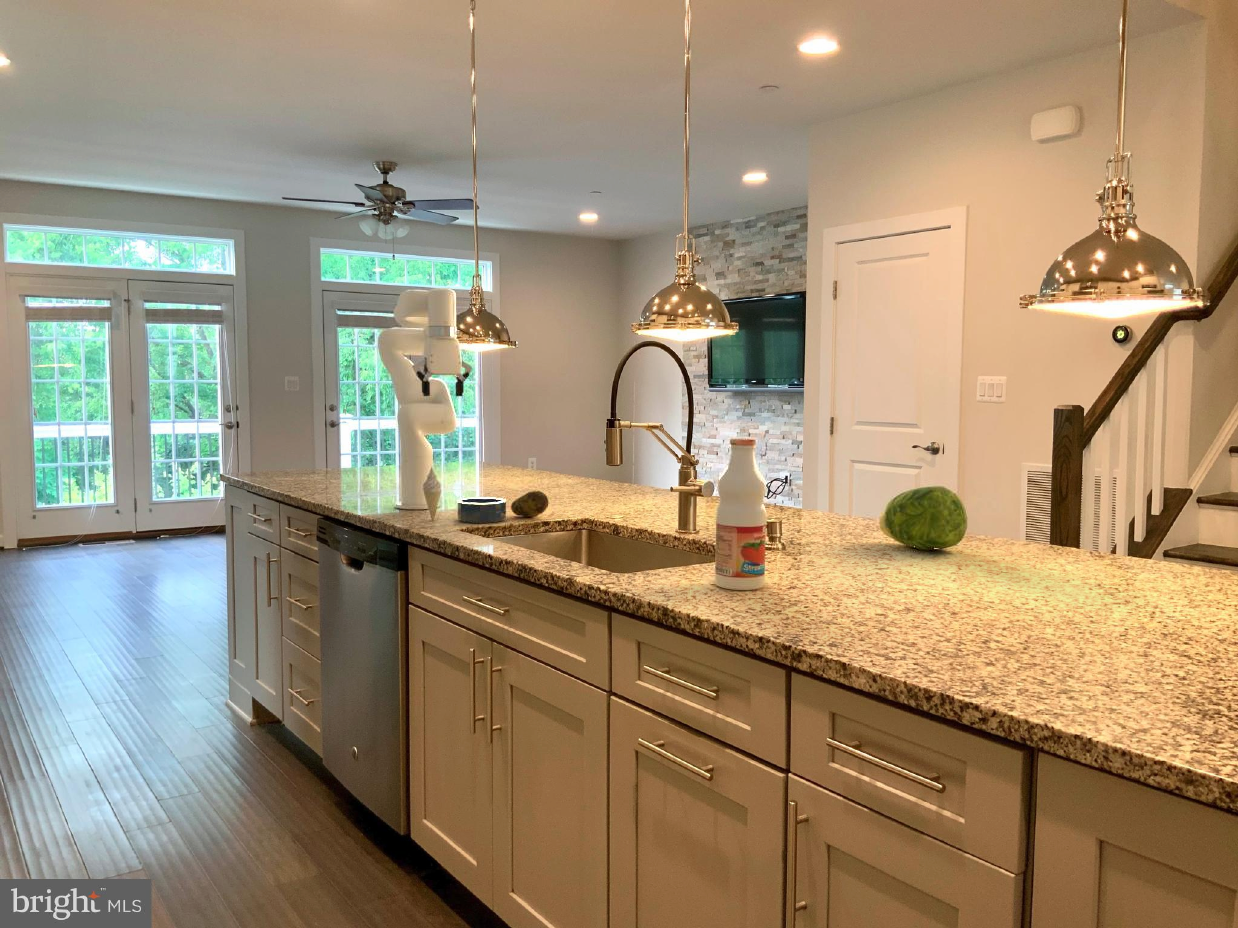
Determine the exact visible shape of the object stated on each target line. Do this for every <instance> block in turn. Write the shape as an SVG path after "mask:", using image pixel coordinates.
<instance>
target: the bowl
mask: <svg viewBox="0 0 1238 928" xmlns="http://www.w3.org/2000/svg"><path fill="white" fill-rule="evenodd" d="M456 507H457V508H456V510H457V512H456V513H457V514H456V515H457V516H456V517H457V518H456V519H457V520H459V521H462V522H464V523H469V524H493V523H498V522H502V521H504V520H505V519H506V518H507V500H506V499H503V498H498V497H497V498H496V497H470V498H461V499H458V500H457V503H456Z"/></svg>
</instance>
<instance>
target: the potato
mask: <svg viewBox="0 0 1238 928" xmlns="http://www.w3.org/2000/svg"><path fill="white" fill-rule="evenodd" d="M549 503H550V502H549V498H548V496H547V494H545V493H544V492H543V491H540V490H534V491H532V490H531V491H527V492H526V493H525V494H523V495H521V496H519V497H518V498H516V499H515V500H513V501H512V502H511V505H510V510H511V511H512V513H513V514H514V515H516V516H519V517H520V516H521V517H525V518H536V517H538V516H539V515H542V514H543V513H544V512H545V511H546V510H547V509H548V507H549Z"/></svg>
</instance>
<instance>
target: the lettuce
mask: <svg viewBox="0 0 1238 928" xmlns="http://www.w3.org/2000/svg"><path fill="white" fill-rule="evenodd" d="M878 527H879V529H880V531H881V532H882V533H883V535H885V536H886V537H888V538H891V539H893V540H894V541H895V542H897V543H900V544H902V543H903V544H902V545H903V546H907V547H910V548H913V549H918V550H922V551H925V552H927V551H937V550H943V549H947V548H952V547H955V546H957V545H958V544H959V543H960V542H961V541H962V540H963V539H964V537H965V535H966V532H967V529H968V515H967V510H966V507H965V506H964V503H963V501H962V499H961V498H960V497H959V496H958V494H956V493H955V492H954V491H952V490H951V489H948V488H947V487H945V486H941V485H940V486H938V485H935V486H933V485H932V486H922V487H917V488H914V489H909V490H907V491H903V492H902V493H899V494H898V495H896V496H894V497H893V498H892V499H890V500H889V501H888V502H887V505H886V506H885V507H884V509H883V510H882V512H881V514H880V516H879V518H878ZM905 544H906V545H905ZM910 545H911V546H910ZM914 546H915V547H914ZM934 548H939V549H934Z"/></svg>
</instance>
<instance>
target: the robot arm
mask: <svg viewBox="0 0 1238 928" xmlns="http://www.w3.org/2000/svg"><path fill="white" fill-rule="evenodd" d="M456 295H457V294H456V292H455V290H453V289H452V288H446V287H445V288H444V287H437V288H436V287H435V288H431V289H429V290H426V289H425V290H423V289H408V290H404V291H401V292H400V294H399V296H398V298H397V304H396V306H395V307H394V310H393V318H394V320H395V321H396V323H397V324H398V325H400V326H401V327H390V328H385V329H384V330H382V331H380V333H379V334H378V338H377V348H378V354H379V357H380V360H381V362H382V364H383V366H384V368H385V369H386V371H387V372H388V375H389V376H390V379H391V384H392V387H393V391H394V395H395V398H396V400H397V403H398V405H400V408H399V409H398V411H397V416H396V418H397V426H398V431H399V432H398V433H399V439H400V484H401V485H400V486H401V487H400V488H401V489H400V492H401V494H400V495H401V500H400V501H399V502H397V503H396V504H395V507H396V509H400V510H429V509H428V505H427V502H426V498H425V495H424V492H423V491H424V490H423V484H424V483H425V481H426V480H427V476H428V474H429V472H430V470H431V467H432V468H433V469H434V451H433V447H432V445H431V444H430V442H429V441H428V440H427V438H426V437H425V436H429V435H430V436H432V435H433V436H434V435H435V436H436V435H449V434H452V433H454V431H455V429H456V428H457V415H456V410H455V408H454V404H453V400H452V397H451V394H450V391H449V388H448V385H447V384H446V382H444V380H442V379H440V378H437V377H432V376H453V377H454V378H455V380H456V382H455V396H456V397H463V394H464V390H465V389H464V387H465V386H464V385H465V383H464V382H466V380H467V379H468V378H469V377H470V374H471V372H472V370H473V366H472V365H470V364H469V363H467V362H465V361H463V360H462V352H461V347H460V342H459V339H458V338H457V337H458V336H461V330H458V328H457V296H456ZM405 356H422V359H421V360H420V361H417V362H416V363H413V362H412V361H411V360H410V359H409V358H407V357H405ZM421 367H422V371H421V369H420V368H421ZM463 368H464V371H463V373H462V369H463ZM437 508H439V505H438V506H437Z"/></svg>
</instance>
